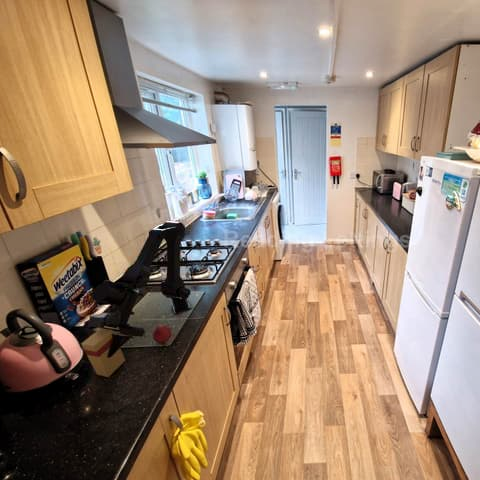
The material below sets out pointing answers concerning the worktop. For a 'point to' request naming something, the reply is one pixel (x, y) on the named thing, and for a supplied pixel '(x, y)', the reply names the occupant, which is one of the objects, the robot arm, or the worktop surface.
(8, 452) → the worktop surface
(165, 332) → the onion
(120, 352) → the box
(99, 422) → the worktop surface
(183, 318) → the worktop surface
